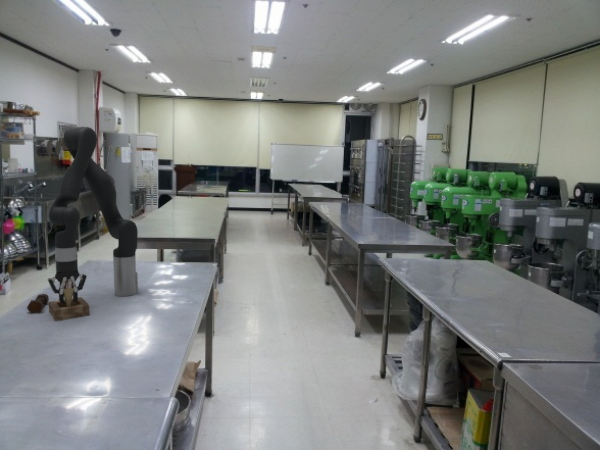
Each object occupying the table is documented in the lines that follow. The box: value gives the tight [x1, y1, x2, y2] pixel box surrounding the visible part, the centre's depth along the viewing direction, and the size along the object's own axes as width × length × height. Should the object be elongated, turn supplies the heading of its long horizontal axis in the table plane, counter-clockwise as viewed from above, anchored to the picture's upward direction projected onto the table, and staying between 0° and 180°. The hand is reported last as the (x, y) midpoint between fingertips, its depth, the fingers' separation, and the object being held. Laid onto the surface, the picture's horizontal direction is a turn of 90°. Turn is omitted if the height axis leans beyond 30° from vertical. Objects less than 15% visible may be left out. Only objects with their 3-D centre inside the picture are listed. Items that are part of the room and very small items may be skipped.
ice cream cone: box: [60, 279, 77, 307], centre depth 183 cm, size 6×6×15 cm
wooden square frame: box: [48, 296, 90, 322], centre depth 184 cm, size 12×12×4 cm
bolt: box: [26, 293, 49, 314], centre depth 190 cm, size 6×5×15 cm
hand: (68, 301), depth 183 cm, fingers closed on ice cream cone, 3 cm apart
